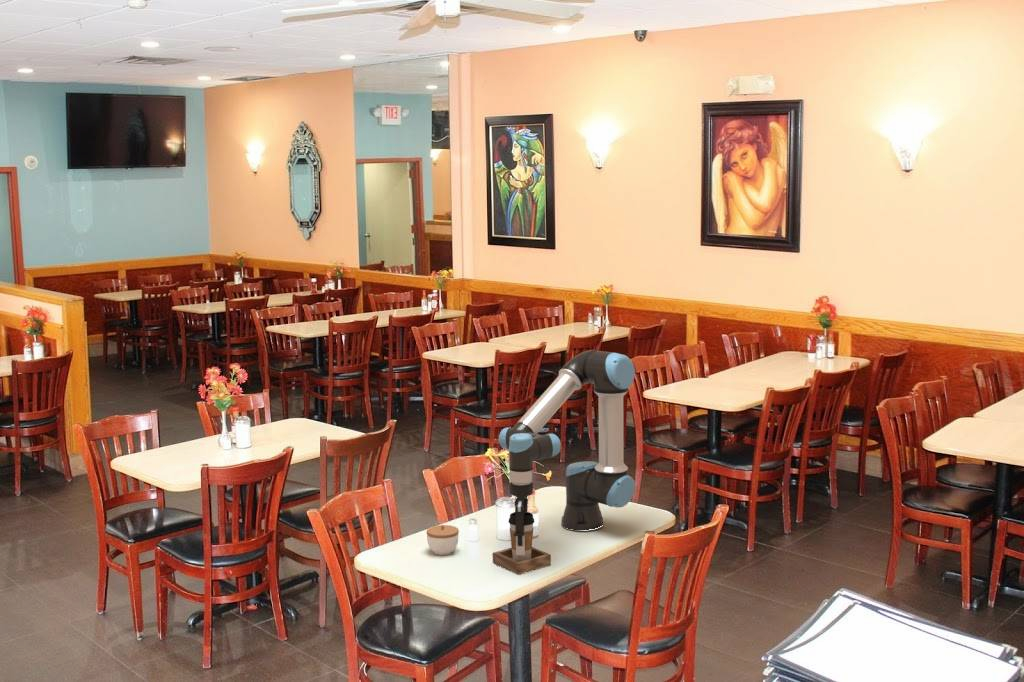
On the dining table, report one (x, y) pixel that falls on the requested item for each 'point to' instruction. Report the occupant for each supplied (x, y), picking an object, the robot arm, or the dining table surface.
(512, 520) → the coffee cup
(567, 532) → the dining table surface
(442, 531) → the lidded jar
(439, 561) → the dining table surface
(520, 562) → the square brown tray
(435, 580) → the dining table surface
